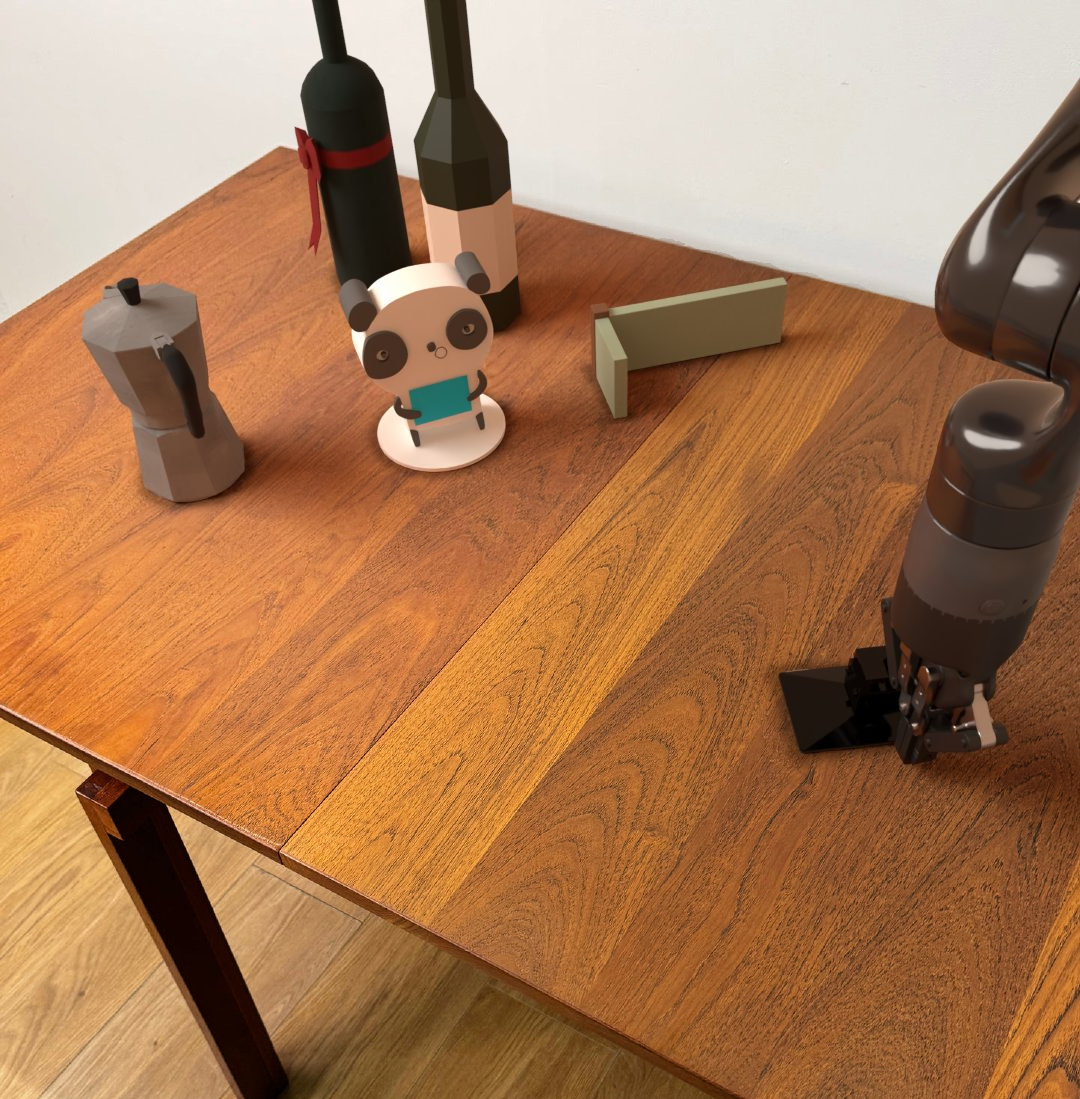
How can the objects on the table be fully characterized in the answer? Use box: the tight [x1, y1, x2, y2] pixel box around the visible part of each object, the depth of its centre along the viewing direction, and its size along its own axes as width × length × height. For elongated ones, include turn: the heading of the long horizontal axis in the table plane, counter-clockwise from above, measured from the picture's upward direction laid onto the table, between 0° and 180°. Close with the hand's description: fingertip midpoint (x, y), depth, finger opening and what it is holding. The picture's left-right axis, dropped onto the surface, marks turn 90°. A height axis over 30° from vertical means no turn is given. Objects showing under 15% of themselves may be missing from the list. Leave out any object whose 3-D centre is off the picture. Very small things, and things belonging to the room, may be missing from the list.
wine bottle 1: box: [294, 0, 414, 290], centre depth 107 cm, size 8×10×30 cm
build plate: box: [777, 645, 966, 754], centre depth 79 cm, size 12×7×5 cm, turn 95°
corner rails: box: [589, 276, 788, 419], centre depth 103 cm, size 18×8×7 cm, turn 103°
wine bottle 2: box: [413, 0, 522, 334], centre depth 102 cm, size 8×8×30 cm
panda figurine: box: [338, 251, 507, 473], centre depth 97 cm, size 12×11×15 cm
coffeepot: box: [80, 276, 246, 503], centre depth 93 cm, size 15×9×18 cm, turn 33°
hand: (912, 753), depth 77 cm, fingers closed
